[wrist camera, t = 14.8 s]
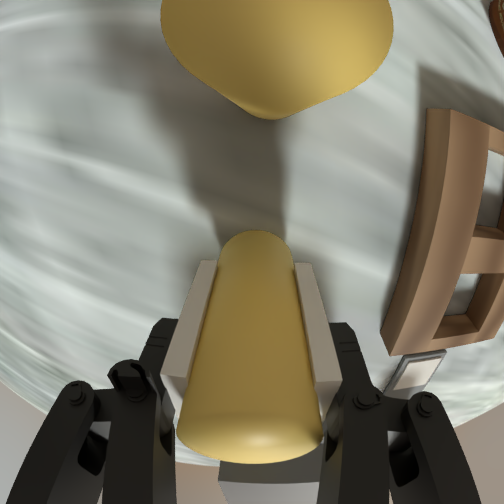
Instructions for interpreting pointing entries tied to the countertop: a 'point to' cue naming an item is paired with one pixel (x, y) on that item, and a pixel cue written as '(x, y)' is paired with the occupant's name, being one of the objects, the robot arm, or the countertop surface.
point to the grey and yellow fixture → (414, 374)
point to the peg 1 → (278, 48)
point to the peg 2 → (252, 361)
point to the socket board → (449, 243)
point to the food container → (497, 21)
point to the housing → (273, 480)
